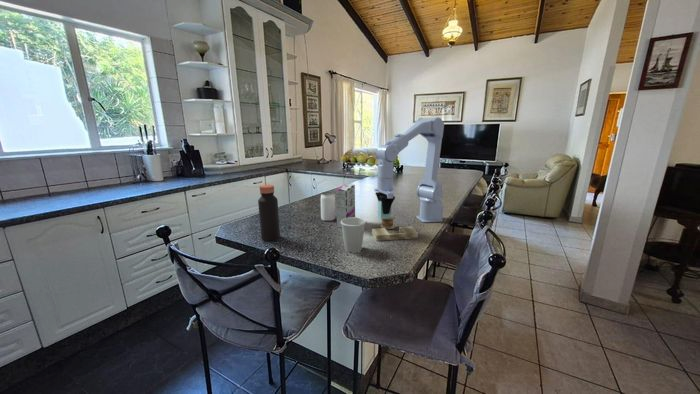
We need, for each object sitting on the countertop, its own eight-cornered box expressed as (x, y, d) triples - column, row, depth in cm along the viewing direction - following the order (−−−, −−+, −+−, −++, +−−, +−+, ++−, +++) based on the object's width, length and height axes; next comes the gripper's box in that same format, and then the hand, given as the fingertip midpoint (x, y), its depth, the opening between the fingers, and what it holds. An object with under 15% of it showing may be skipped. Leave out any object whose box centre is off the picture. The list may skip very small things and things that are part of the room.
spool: (392, 224, 117) (392, 213, 116) (396, 229, 112) (397, 217, 110) (378, 225, 116) (378, 213, 115) (382, 230, 111) (382, 218, 109)
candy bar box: (344, 219, 124) (344, 183, 120) (355, 220, 122) (355, 184, 118) (335, 227, 113) (335, 189, 109) (347, 229, 112) (346, 190, 108)
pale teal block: (388, 215, 109) (388, 200, 108) (391, 218, 105) (391, 203, 104) (378, 215, 108) (378, 201, 107) (380, 218, 105) (381, 203, 103)
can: (333, 221, 121) (332, 195, 118) (319, 220, 122) (318, 194, 119) (336, 217, 127) (336, 192, 124) (323, 216, 128) (322, 191, 125)
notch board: (411, 231, 109) (411, 226, 109) (417, 237, 103) (418, 232, 102) (371, 233, 107) (372, 228, 107) (376, 240, 100) (376, 235, 100)
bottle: (257, 240, 101) (252, 187, 96) (269, 233, 107) (265, 183, 102) (272, 243, 99) (268, 188, 94) (283, 236, 105) (280, 185, 100)
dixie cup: (356, 242, 99) (356, 215, 97) (370, 250, 92) (370, 222, 90) (336, 247, 95) (336, 219, 92) (349, 256, 88) (349, 227, 86)
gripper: (370, 174, 109) (370, 207, 113) (379, 181, 95) (379, 218, 99) (387, 174, 110) (386, 206, 114) (399, 180, 96) (397, 217, 100)
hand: (384, 212), depth 106 cm, fingers closed on pale teal block, 4 cm apart
